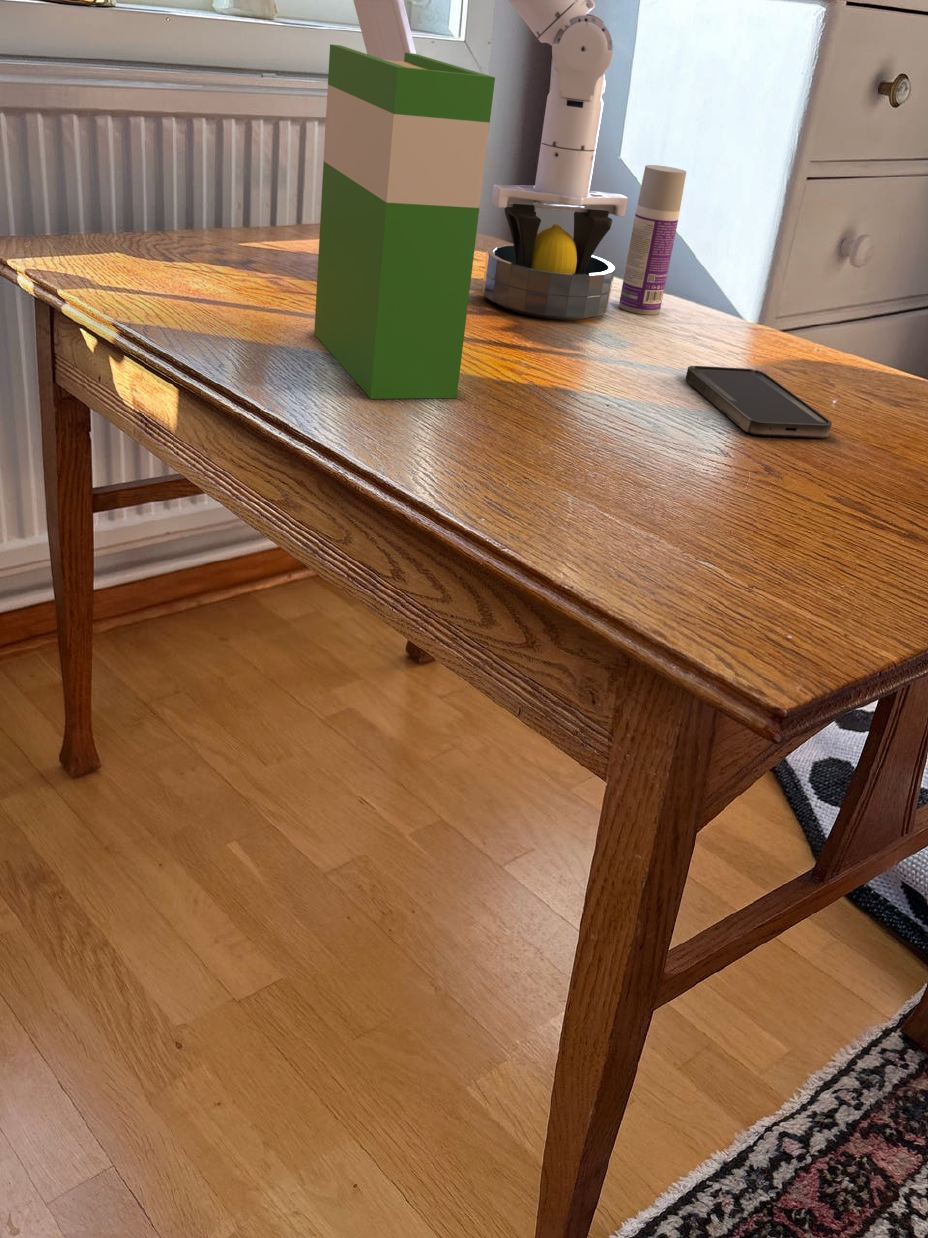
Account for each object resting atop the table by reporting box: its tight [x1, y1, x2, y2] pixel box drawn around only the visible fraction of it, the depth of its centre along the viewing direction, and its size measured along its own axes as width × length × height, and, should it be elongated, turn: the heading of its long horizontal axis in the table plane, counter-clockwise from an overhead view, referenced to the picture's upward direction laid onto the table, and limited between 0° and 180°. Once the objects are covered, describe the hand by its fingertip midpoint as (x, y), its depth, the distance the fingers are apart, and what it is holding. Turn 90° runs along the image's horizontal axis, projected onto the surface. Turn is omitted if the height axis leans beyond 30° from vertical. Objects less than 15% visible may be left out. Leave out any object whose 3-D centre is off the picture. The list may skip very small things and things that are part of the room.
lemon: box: [531, 223, 577, 273], centre depth 122 cm, size 6×6×8 cm
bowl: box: [481, 243, 616, 321], centre depth 123 cm, size 14×14×5 cm
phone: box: [684, 365, 833, 439], centre depth 100 cm, size 8×1×15 cm
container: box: [618, 164, 687, 316], centre depth 124 cm, size 5×5×15 cm
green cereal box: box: [313, 43, 496, 400], centre depth 93 cm, size 18×7×24 cm, turn 21°
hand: (548, 279), depth 123 cm, fingers closed on lemon, 5 cm apart
